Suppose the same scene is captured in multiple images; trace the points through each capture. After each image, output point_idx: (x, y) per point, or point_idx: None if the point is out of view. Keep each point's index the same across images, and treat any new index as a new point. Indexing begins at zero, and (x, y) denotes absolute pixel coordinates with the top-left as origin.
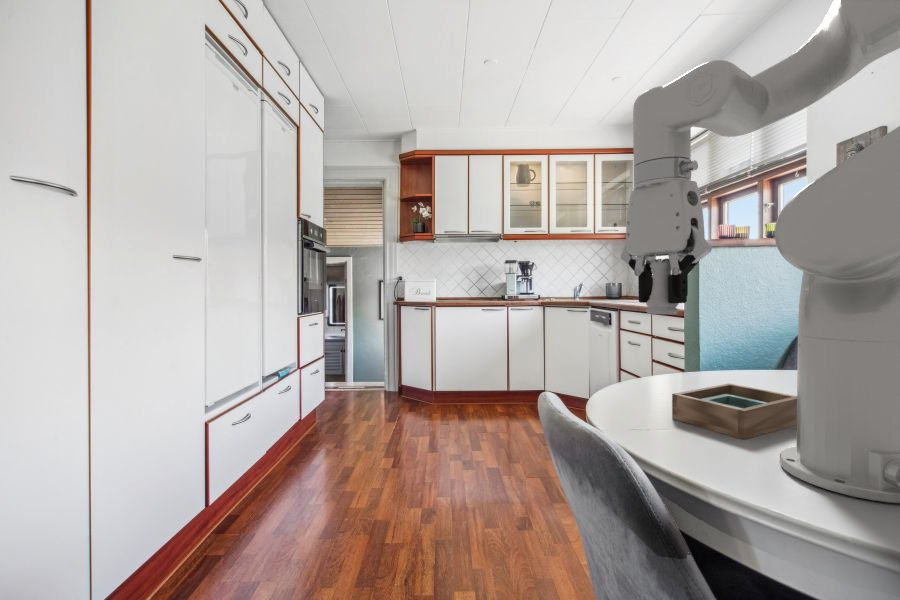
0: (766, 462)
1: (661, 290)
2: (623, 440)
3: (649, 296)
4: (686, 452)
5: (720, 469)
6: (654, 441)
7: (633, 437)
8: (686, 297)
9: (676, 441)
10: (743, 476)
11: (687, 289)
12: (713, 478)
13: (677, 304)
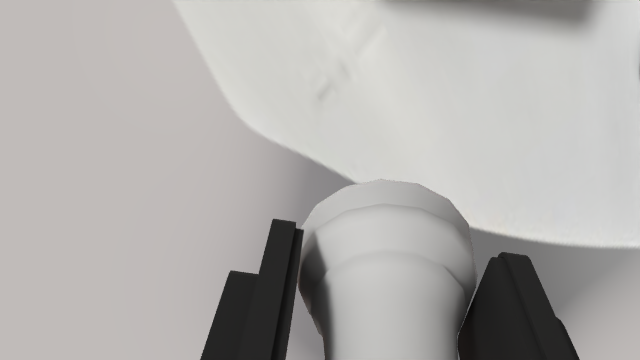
0: (612, 73)
1: None
2: (350, 172)
3: (321, 334)
4: (469, 141)
5: (543, 171)
6: (396, 132)
7: (353, 143)
8: (534, 273)
9: (429, 97)
10: (581, 171)
11: (572, 347)
12: (542, 211)
13: (475, 267)
